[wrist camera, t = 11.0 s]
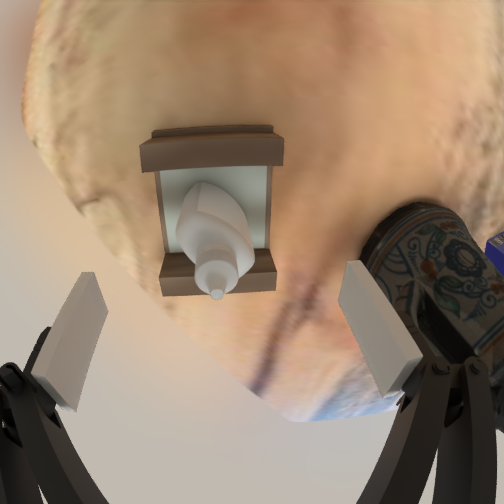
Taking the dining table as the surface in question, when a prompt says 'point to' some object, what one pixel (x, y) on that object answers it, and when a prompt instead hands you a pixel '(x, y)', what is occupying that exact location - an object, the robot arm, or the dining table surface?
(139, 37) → the dining table surface
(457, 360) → the beer stein
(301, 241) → the dining table surface
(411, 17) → the dining table surface
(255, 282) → the u rest
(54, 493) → the robot arm
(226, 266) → the eye dropper bottle
